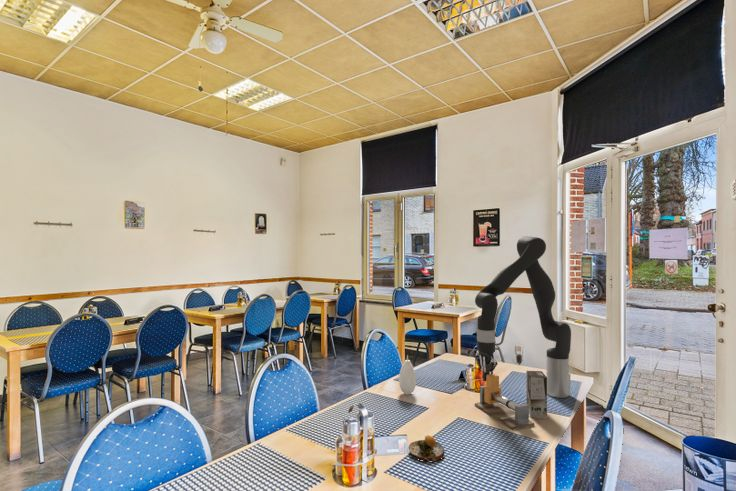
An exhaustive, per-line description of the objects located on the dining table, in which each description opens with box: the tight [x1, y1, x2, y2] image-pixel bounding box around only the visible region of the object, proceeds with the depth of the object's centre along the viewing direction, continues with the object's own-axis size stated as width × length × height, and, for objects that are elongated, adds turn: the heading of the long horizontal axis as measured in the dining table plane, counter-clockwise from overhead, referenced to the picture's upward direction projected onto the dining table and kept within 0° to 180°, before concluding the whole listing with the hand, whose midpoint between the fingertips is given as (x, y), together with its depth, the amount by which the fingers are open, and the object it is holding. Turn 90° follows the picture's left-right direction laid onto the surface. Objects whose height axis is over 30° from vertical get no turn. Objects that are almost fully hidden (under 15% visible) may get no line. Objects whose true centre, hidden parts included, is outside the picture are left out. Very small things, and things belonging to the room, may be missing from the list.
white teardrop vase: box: [398, 354, 417, 396], centre depth 187 cm, size 8×8×18 cm
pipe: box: [479, 385, 530, 426], centre depth 164 cm, size 24×5×7 cm, turn 20°
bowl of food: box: [408, 434, 445, 462], centre depth 134 cm, size 12×12×8 cm
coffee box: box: [525, 370, 548, 419], centre depth 166 cm, size 9×6×16 cm
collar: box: [484, 373, 502, 404], centre depth 170 cm, size 3×6×11 cm, turn 110°
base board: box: [474, 402, 535, 431], centre depth 164 cm, size 24×10×1 cm, turn 20°
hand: (486, 380), depth 174 cm, fingers closed
